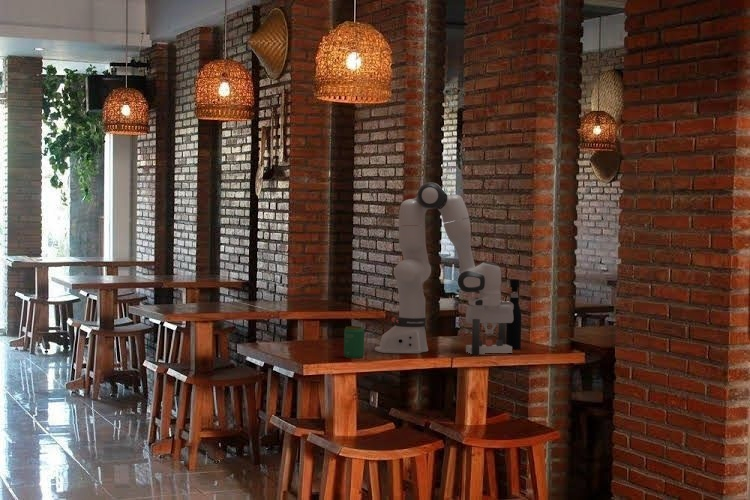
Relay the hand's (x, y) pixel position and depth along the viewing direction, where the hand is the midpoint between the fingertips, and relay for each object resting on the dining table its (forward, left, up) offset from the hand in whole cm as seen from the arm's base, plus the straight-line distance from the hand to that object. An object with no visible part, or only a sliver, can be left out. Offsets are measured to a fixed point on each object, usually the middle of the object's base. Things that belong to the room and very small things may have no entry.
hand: (489, 333), depth 444 cm
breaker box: (0, 0, -8) cm, 8 cm away
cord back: (+8, +7, -8) cm, 13 cm away
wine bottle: (+15, +12, -8) cm, 21 cm away
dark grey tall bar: (-8, -7, -8) cm, 13 cm away
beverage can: (-59, -6, -8) cm, 60 cm away
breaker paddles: (0, 0, -5) cm, 5 cm away
